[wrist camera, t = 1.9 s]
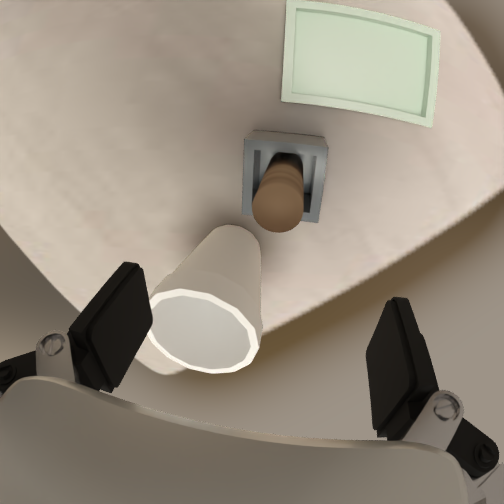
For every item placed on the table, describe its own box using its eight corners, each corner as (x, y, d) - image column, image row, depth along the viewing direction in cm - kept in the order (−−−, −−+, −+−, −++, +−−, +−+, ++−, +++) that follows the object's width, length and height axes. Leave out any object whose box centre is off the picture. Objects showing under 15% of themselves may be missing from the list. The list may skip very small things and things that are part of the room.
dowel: (269, 149, 26) (253, 182, 18) (304, 152, 26) (306, 188, 18) (267, 181, 28) (250, 229, 20) (301, 185, 28) (300, 235, 19)
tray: (282, 100, 24) (281, 101, 23) (287, 4, 19) (286, -1, 18) (424, 125, 23) (431, 128, 21) (432, 33, 18) (440, 31, 16)
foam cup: (192, 277, 36) (151, 359, 25) (190, 206, 31) (132, 278, 20) (270, 289, 35) (254, 381, 24) (280, 218, 30) (264, 302, 19)
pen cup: (254, 130, 26) (244, 139, 22) (323, 137, 25) (328, 147, 21) (251, 193, 30) (241, 214, 25) (315, 200, 29) (318, 222, 25)
